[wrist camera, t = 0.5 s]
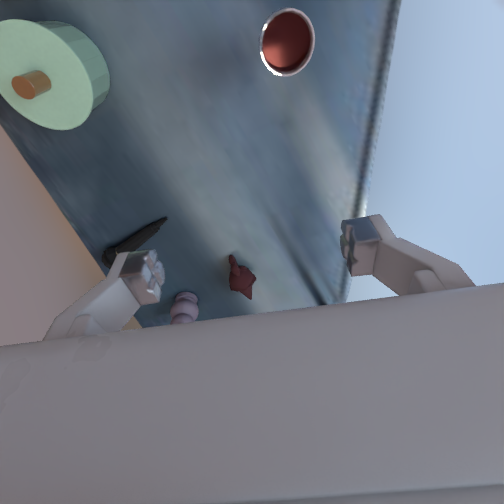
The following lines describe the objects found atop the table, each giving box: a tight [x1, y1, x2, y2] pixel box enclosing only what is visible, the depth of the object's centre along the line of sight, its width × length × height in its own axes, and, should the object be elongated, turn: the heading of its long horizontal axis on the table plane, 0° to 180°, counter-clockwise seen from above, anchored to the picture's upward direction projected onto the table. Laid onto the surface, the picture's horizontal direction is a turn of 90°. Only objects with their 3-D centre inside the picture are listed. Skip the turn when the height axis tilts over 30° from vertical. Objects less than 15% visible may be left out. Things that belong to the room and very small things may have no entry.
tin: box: [35, 20, 110, 110], centre depth 42 cm, size 12×12×8 cm
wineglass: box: [259, 7, 315, 76], centre depth 38 cm, size 7×7×12 cm
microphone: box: [102, 218, 167, 269], centre depth 66 cm, size 6×6×20 cm
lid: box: [0, 19, 94, 130], centre depth 37 cm, size 13×13×5 cm
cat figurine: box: [170, 292, 199, 325], centre depth 79 cm, size 9×8×12 cm
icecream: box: [229, 255, 256, 300], centre depth 74 cm, size 7×7×15 cm
